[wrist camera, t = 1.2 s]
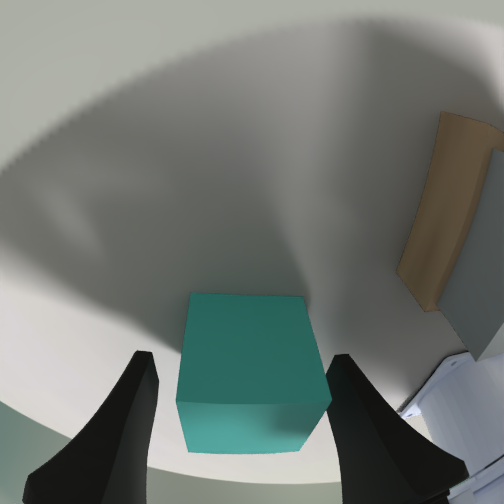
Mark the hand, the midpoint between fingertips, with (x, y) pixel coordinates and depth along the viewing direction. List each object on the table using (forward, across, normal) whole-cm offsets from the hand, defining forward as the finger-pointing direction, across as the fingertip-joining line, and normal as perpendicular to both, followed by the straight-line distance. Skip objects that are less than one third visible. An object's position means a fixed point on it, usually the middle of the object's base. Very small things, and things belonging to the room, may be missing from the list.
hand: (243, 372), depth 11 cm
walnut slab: (+2, -10, -7) cm, 12 cm away
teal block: (+2, 0, 0) cm, 2 cm away
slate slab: (0, -10, -7) cm, 12 cm away
